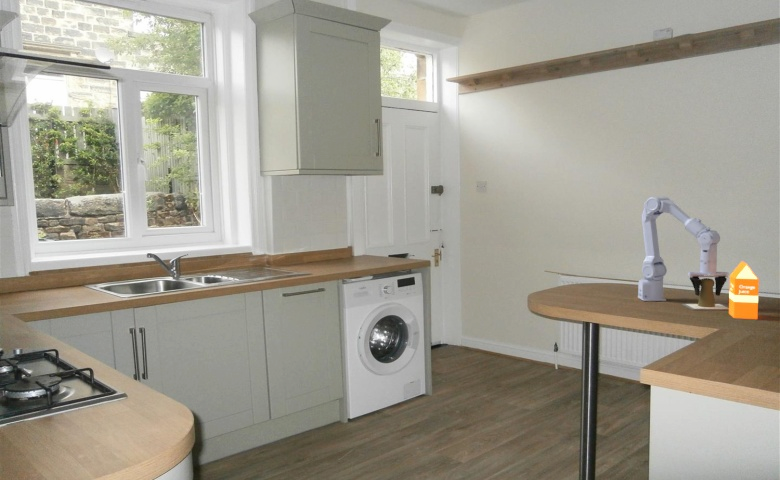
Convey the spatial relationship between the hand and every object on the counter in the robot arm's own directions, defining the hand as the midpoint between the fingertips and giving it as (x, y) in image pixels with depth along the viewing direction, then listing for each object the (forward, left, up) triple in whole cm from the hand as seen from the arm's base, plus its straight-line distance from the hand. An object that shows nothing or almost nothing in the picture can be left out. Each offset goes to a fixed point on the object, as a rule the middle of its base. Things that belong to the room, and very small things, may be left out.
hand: (707, 295), depth 234 cm
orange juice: (+6, -16, -5) cm, 18 cm away
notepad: (0, 0, -5) cm, 5 cm away
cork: (0, +1, -5) cm, 5 cm away
